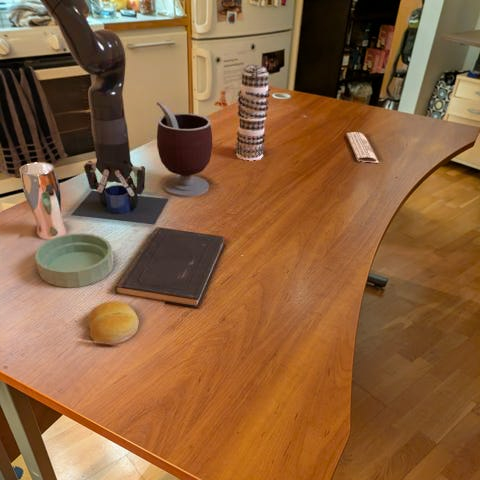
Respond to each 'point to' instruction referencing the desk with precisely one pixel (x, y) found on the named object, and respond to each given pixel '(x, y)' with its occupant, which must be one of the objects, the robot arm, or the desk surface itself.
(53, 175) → the beer glass
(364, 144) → the newspaper
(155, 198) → the mat
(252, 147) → the patterned cylindrical tower
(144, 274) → the hardcover book
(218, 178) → the desk surface
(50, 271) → the big bowl
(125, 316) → the bread roll
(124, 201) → the small cup
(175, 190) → the mate gourd
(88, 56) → the robot arm
